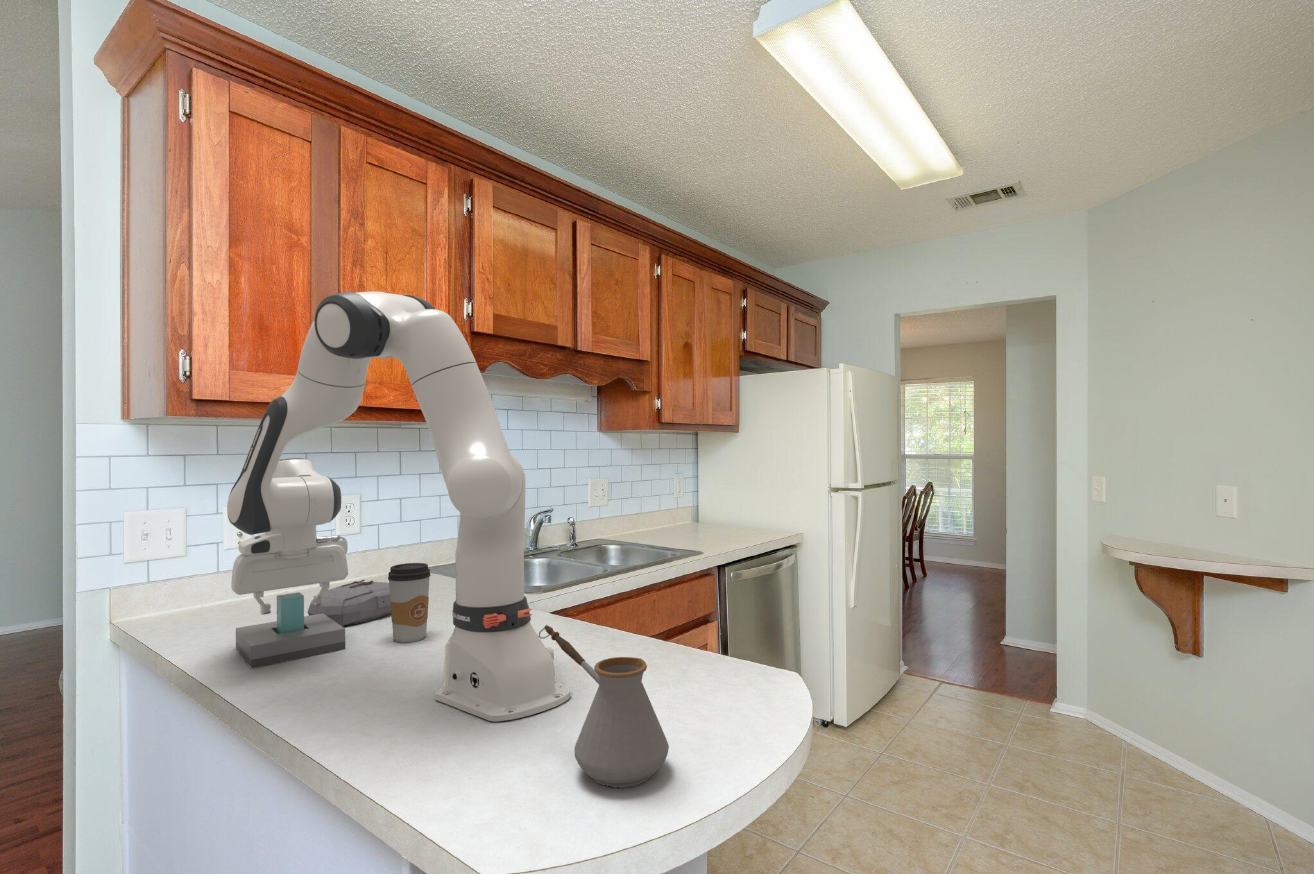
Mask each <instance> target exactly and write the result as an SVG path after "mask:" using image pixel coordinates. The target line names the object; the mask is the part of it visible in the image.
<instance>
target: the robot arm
mask: <svg viewBox="0 0 1314 874" xmlns="http://www.w3.org/2000/svg"><path fill="white" fill-rule="evenodd" d="M375 358H376V359H392V358H396V359H397V360H399V362H400V363H401V365H402V366H403V368H404V369H405V373H406V375H407V378H408V380H409V382H410V385H411V388H412V390H413V393H414V395H415V399H416V400H417V402H418V405H419V408H420V410H421V412H422V415H423V417H424V419H425V422H426V425H427V427H428V430H429V432H430V435H431V439H432V442H433V447H434V451H435V454H436V458H437V462H438V464H439V467H440V471H441V475H442V477H443V480H444V485H445V486H446V489H447V493H448V496H449V499H450V502H451V503H452V505H453V506H454V508H455V509H456V511H459V522H458V532H457V541H456V550H455V553H454V555H455V600H454V601H453V603H452V611H451V612H452V613H451V614H452V624H453V626H454V629H453V632H452V634H451V636H450V637H449V639H447V642H446V643H445V649H444V662H443V665H444V666H443V680H442V681H443V682H442V686H441V687H440V688H438V689H437V690H436V691H435V696H434V699H435V700H436V701H439V702H441V703H443V704H445V705H448V706H451V707H453V708H455V709H458V710H460V711H464V712H466V713H469V714H470V715H474V716H476V717H479V718H482V719H484V720H487V721H489V722H505V721H511V720H517V719H520V718H525V717H529V716H532V715H536V714H538V713H541V712H544V711H547V710H550V709H553V708H555V707H558V706H560V705H561V704H563V703H565V702H567V701H568V700H569V699H570V698H571V697H572V695H571V690H570V689H569V688H568V687H567V686H566V685H565V684H563V683H562V682H561V681H560V680H558V679H557V678H556V676H555V675H556V673H555V672H556V671H555V665H554V660H555V653H554V652H555V651H554V650H553V647H550V646H549V647H546V646H545V644H544V642H543V641H542V640H541V638H540V637H539V634H538V633H537V632H536V630H535V629H534V627H533V625H532V624H531V620H532V619H531V616H532V615H533V614H532V613H530V612H531V611H532V608H530V606H529V604H528V599H527V596H525V558H524V557H525V554H524V553H525V552H524V551H525V528H526V527H525V526H526V524H525V523H526V522H525V521H526V515H525V514H526V474H525V470H524V468H523V466H522V464H521V463H520V461H518V459H517V458H516V457H515V456H513V455H512V453H511V451H510V449H509V447H508V446H509V445H508V444H507V440H506V438H505V435H504V432H503V430H502V426H501V423H500V420H499V417H498V414H497V412H496V408H495V405H494V402H493V399H492V398H491V394H490V393H489V390H488V388H487V385H486V383H485V380H484V377H483V376H482V372H481V371H480V369H479V366H478V363H477V360H476V359H475V356H474V354H473V351H472V350H471V348H470V346H469V344H468V342H467V340H466V339H465V337H464V334H463V333H462V331H461V330H460V328H459V326H458V325H457V324H456V322H455V320H454V319H453V318H452V316H451V315H450V314H449V313H446V312H445V311H444V310H439V309H435V308H434V306H433V305H432V304H431V303H429V302H428V301H427V300H425V299H423V298H421V297H419V296H415V295H411V294H403V295H402V294H396V293H390V292H389V293H388V292H385V291H357V292H354V291H343V292H338V293H334V294H330V295H328V296H326V297H324V299H322V300H321V301H320V303H319V304H318V306H317V308H316V311H315V313H314V320H313V321H312V323H311V325H310V328H309V329H308V332H307V334H306V337H305V339H304V342H303V346H302V349H301V352H300V356H299V361H298V365H297V370H296V374H295V377H294V379H293V381H292V383H291V384H290V386H289V387H288V388H287V390H285V392H284V393H282V395H280V396H279V397H277V398H275V399H272V400H271V401H270V403H269V404H268V406H267V407H266V410H264V414H263V416H262V418H261V421H260V422H259V425H258V427H257V430H256V433H255V435H254V438H253V441H252V442H251V445H250V449H249V451H248V453H247V456H246V459H245V461H244V464H243V467H242V469H241V472H240V474H239V476H238V478H237V479H236V481H235V483H234V485H233V486H232V488H231V490H230V492H229V496H228V500H227V505H226V508H227V509H226V511H227V514H226V515H227V518H228V521H229V523H230V524H231V525H233V527H235V528H236V529H237V530H239V531H240V532H243V533H244V534H247V535H249V536H253V535H256V536H253V537H250V538H247V539H245V540H242V541H240V542H239V543H238V550H239V553H240V554H239V555H238V556H237V557H236V558H235V560H234V562H233V567H232V572H231V582H230V583H231V590H232V592H234V593H235V594H236V595H239V596H240V595H247V594H253V598H254V599H255V601H257V603H258V604H259V607H260V611H259V612H260V615H261V616H263V615H264V616H265V615H268V614H271V613H272V612H271V611H272V610H271V608H272V607H271V605H272V604H270V603H269V602H267V603H265V602H264V601H263V599H262V598H264V596H265V595H264V593H265V592H269V591H275V590H281V589H288V588H297V587H301V586H309V585H315V584H319V587H320V588H321V589H320V590H319V593H318V594H316V595H314V596H313V599H314V600H315V601H314V605H315V606H318V605H323V604H324V596H325V594H326V592H327V591H328V590H330V582H337V581H343V580H345V579H347V577H348V576H349V568H348V567H349V566H348V560H347V555H346V554H347V553H348V549H349V548H348V541H347V539H346V538H345V537H343V536H340V535H339V534H338V535H337V534H334V535H331V536H330V535H329V536H317V526H322V525H325V524H327V523H329V524H330V523H331V522H332V521H333V520H334V519H335V518H336V517H337V516H338V514H339V513H340V511H341V509H342V491H341V487H340V486H339V484H337V483H336V482H335V481H334V480H333V479H332V478H330V477H329V476H324V475H322V474H320V473H319V472H317V471H316V470H315V469H314V465H313V462H312V461H311V460H310V459H307V458H304V457H303V458H301V457H299V458H298V457H291V458H284V459H281V458H282V455H283V453H284V450H285V449H286V447H287V446H288V444H290V443H291V442H292V441H293V440H295V439H296V438H299V437H301V436H302V435H304V434H307V433H309V432H313V431H314V430H318V429H321V428H325V427H328V426H329V427H330V426H332V425H335V424H338V423H340V422H342V421H344V420H346V419H347V418H349V417H350V416H351V415H352V414H354V413H355V412H356V411H357V409H358V408H359V405H360V403H361V402H362V399H363V395H364V391H365V387H366V381H367V376H368V370H369V367H370V362H371V361H372V359H375Z"/></svg>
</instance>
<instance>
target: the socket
mask: <svg viewBox="0 0 1314 874" xmlns="http://www.w3.org/2000/svg"><path fill="white" fill-rule="evenodd" d="M235 649H236V650H237V652H238V653H239V654H240V656H241V657H242V658H243V659H244V661H245V663H246V664H248V665H247V666H248V667H249V668H250V669H255V668H258V667H264V666H269V665H273V664H278V663H279V664H280V663H283V662H287V661H288V662H289V661H293V660H298V659H303V658H307V657H312V656H317V655H321V654H323V655H324V654H327V653H333V652H337V651H342V650H346V628H345V626H341V625H339V624H338V623H336V622H335V621H333V620H332V619H330V618H329V617H328V616H326V615H325V614H323V613H322V614H316V615H311V616H309V615H304V629H303V630H298V631H292V632H287V633H281V634H277V620H276V621H269V622H263V623H257V624H253V625H248V626H247V625H246V626H242V627H241V626H240V627H236V628H235Z"/></svg>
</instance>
